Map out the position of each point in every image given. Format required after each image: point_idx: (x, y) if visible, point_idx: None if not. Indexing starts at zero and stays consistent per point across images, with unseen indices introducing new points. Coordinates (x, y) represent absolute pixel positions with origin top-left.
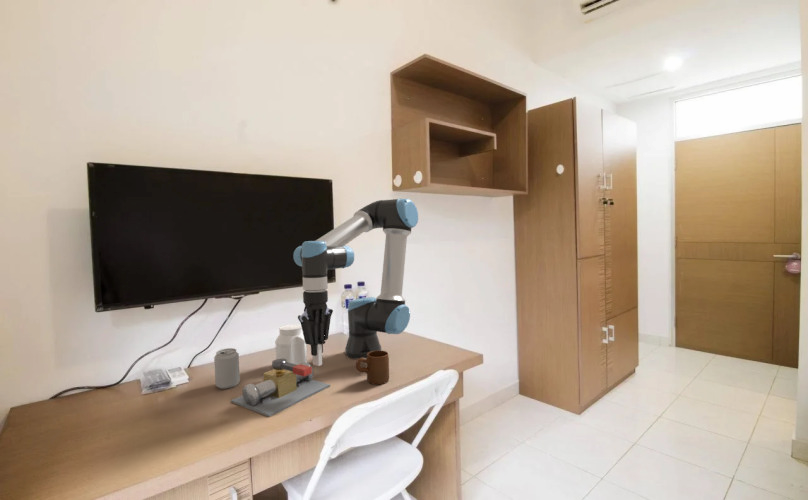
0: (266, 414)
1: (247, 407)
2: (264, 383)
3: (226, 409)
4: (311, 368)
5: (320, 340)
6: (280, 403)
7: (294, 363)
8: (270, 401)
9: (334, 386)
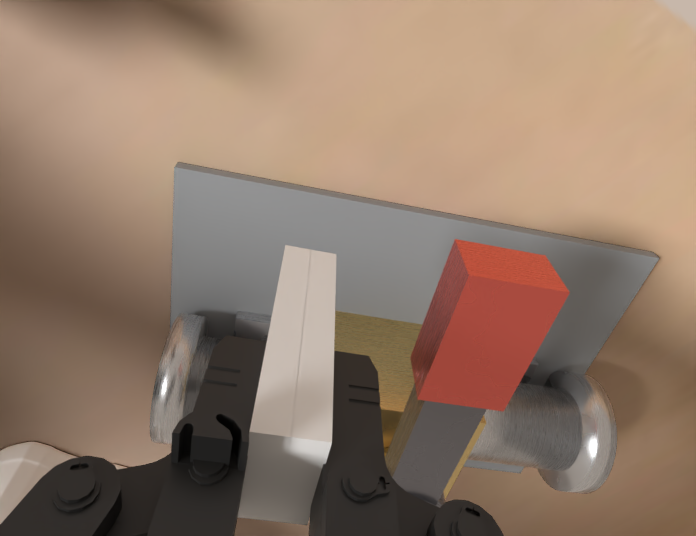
0: (644, 274)
1: None
2: (512, 444)
3: None
4: (466, 265)
5: (237, 507)
6: None
7: None
8: None
9: (161, 131)
